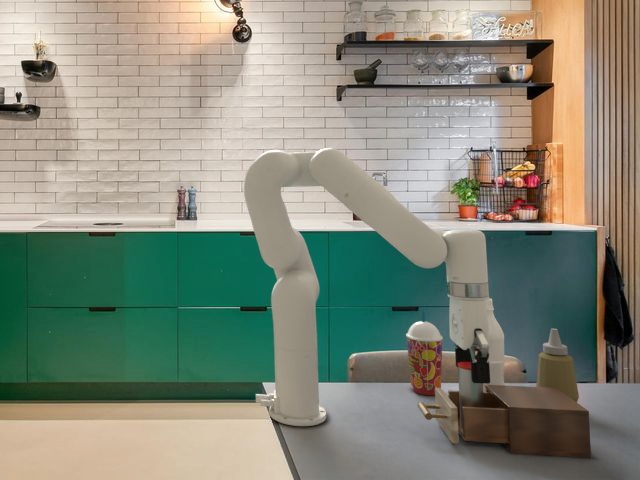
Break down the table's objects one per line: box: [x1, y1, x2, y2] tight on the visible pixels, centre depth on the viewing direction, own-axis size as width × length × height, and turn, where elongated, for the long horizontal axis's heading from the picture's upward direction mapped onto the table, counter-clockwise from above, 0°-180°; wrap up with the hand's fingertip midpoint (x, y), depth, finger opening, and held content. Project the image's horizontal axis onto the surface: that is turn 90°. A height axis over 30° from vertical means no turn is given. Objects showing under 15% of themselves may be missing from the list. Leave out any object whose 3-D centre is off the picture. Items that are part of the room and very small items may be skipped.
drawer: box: [417, 387, 509, 444], centre depth 114 cm, size 17×11×7 cm
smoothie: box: [405, 309, 443, 396], centre depth 140 cm, size 8×8×20 cm
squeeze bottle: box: [535, 328, 580, 403], centre depth 128 cm, size 8×8×18 cm
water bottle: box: [475, 297, 506, 392], centre depth 129 cm, size 7×7×25 cm
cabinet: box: [485, 385, 592, 459], centre depth 112 cm, size 14×13×9 cm
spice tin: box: [456, 362, 484, 428], centre depth 114 cm, size 5×5×12 cm
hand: (472, 374), depth 114 cm, fingers open, 9 cm apart
